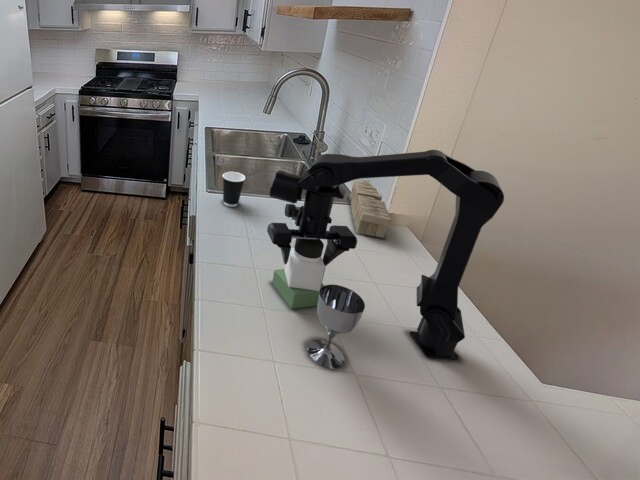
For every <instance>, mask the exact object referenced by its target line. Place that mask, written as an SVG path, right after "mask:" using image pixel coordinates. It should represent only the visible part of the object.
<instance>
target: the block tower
mask: <svg viewBox="0 0 640 480" xmlns="http://www.w3.org/2000/svg"><path fill="white" fill-rule="evenodd" d="M369 181H370V180H367V179H361V180H359V179H355V180H353V184H352V188H351V191H350V194H349V202H350V206H351V207H350V208H351V213H352V218H353V223H354V228H355V232H356V234H359V235H364V236H365V235H366V236H370V237H377V238H381V239H384V238H385V236H386V232H387V228H388V227H390V224H391V222H392V218H391V215H390V214H389V211H388V209H387V205H386V202H385V201H384V200H382V199H383V195H382V196H381V195H380V194H379V193H378V192H377V190H376V189H375V188H374V187H373V186H372V185H371V184H370V183H369Z"/></svg>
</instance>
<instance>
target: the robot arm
mask: <svg viewBox="0 0 640 480" xmlns="http://www.w3.org/2000/svg"><path fill="white" fill-rule="evenodd" d="M410 176H411V177H413V176H414V177H415V176H429V177H431V178H433V179H435V180H436V181H437V182H438V183H439V184H441V185H442V186H443V187H445V188H446V189H447V190H448V191H449V192H451V193H452V194H453V195H455V214H454V217H453V220H452V222H451V225H450V227H449V231H448V234H447V237H446V240H445V242H444V246H443V248H442V252H441V254H440V256H439V259H438V261H437V262H438V263H437V265H436V268H435V271H434V272H433V273H432V274H431V275H430V276H426V275H424V274H421V277H420V283H419V285H418V286H416V307H419V314H420V316H421V319H420V321H419V324H418V325H417V328H416V331H414V330H410V331H409V333H408V334H409V335H410V337H411V339H412V340H413V342H414V343H415V344H416V345H417V346H418V348H419V349H420V350H421V352H422V354H424V356H425V357H427V358H433V359H445V360H447V359H448V360H459V359H460V356H459V355H458V353H457V352H456V351H455V350H456V347H457V345H458V343H460V342H461V341H462V340H464V339H465V338H466V336H465V330H464V321H463V315H462V310H461V309H460V307H459V305H458V304H459V302H458V301H459V286H460V284H461V282H462V279H463V277H464V274H465V271H466V269H467V267H468V263H469V261H470V258H471V256H472V254H473V251H474V248H475V246H476V243H477V240H478V239H479V238H478V237H479V235H480V232H481V230H482V228H483V227H484V226H485V225H486V224H488V222H489V221H490V220H492V219H493V218H494V217H495V215H496V213H498V210H500V208H501V207H502V205H503V204H504V201H505V194H504V192H503V190H502V188H501V185H500V183H499V181H498V179H497V177H495V175H493V174H492V173H490V172H487V171H485V170H476V169H474V168H473V167H471V166H469V165H467V164H466V163H464V162H463V161H459V160H457V159H455V158H452V157H451V156H449V155H447V154H446V153H444V152H443V151H442V150H438V149H429V150H426V151H417V152H415V151H414V152H406V153H405V152H404V153H394V154H393V153H391V154H380V155H370V156H351V155H347V154H340V153H339V154H338V153H323V154H320V155H319V156H318V157H317V158H316V159H315V160H314V162H313V164H312V165H311V167H310V168H309V169H307V170H305V171H304V172H303V174H302V175H298V174H294V173H289V172H286V171H284V170H280V169H278V170H277V171H276V173H275V176H274V179H273V182H272V185H271V187H270V188H269V197H270V198H271V199H275V200H279V201H283V202H287V203H285V207H284V217H287V218H291V220H293V221H294V225H295V227H298V228H297V229H294V228H289V226H288V225H287V223H286V222H270V223H269V224H268V225H267V229H266V232H267V234H268V237H269V239H270V241H271V243H272V244H273V245H275V246H276V247H278V248H280V252H281V256H282V261H283V264H284V265H285V264H287V262H288V259H289V254H290V250H291V247H292V246H291V244H292V240H293V239H296V238H298V239H320V240H326V246H325V250H324V253H323V255H322V260H323V263H324V265H325V267H327V266H328V265H329V264H331V263H332V261H334V260H335V259H336V258H337V257H339V256H340V255H342V254H343V253H345V252H349V251H350V250H355V249H356V248H357V245H358V237H357V236H356V235H355V233H353V232H352V230H351V229H350V228H349V226H347V225H334V224H332V221H333V219H332V218H331V213H332V208H333V205H334V200H335V198H337V199H341V200H343V199H345V195H346V193H347V192H346V189H344V188H343V187H342V185H343V184H346V183H349V182H352V181H354V180H360V179H361V180H362V179H375V178H378V179H379V178H393V177H394V178H395V177H410ZM305 191H306V192H305ZM304 194H305V197H304ZM303 197H304V202H303V205H301V206H296V205H295V204H297V203H298V201H299V202H301V201H302V200H303ZM329 224H332V225H330V226H329V229H327V228H328V225H329Z"/></svg>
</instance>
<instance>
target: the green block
mask: <svg viewBox="0 0 640 480" xmlns="http://www.w3.org/2000/svg"><path fill="white" fill-rule="evenodd" d="M271 285H272V287H273V288H274V289H275V290H276V291H277V293H278V294H279V296H280V297H281V298H282V299H283V301H284V302H285V303H286V304H287V305H288V307H289V308H290V309H291V310H294V309H300V308H307V307H314V306H317V300H318V295H319V291H314V290H307V289H300V288H292V287H289V286H288V282H287V278H286V275H285V271H284V268H280V269H274V271H273V276H272V280H271ZM323 286H325V285H324V283H322V284H321V288H322V287H323ZM321 288H320V289H321Z"/></svg>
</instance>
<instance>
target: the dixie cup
mask: <svg viewBox="0 0 640 480" xmlns="http://www.w3.org/2000/svg"><path fill="white" fill-rule="evenodd" d="M245 180H246V176H245V175H244V174H243V173H241V172H236V171H227V172H224V173H223V174H222V187H223V188H222V200H223V204H224V206H227V207H230V208H231V207H232V208H233V207H237V206H238V203H239V202H240V197H241V195H242V190H243V186H244V183H245Z"/></svg>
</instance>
